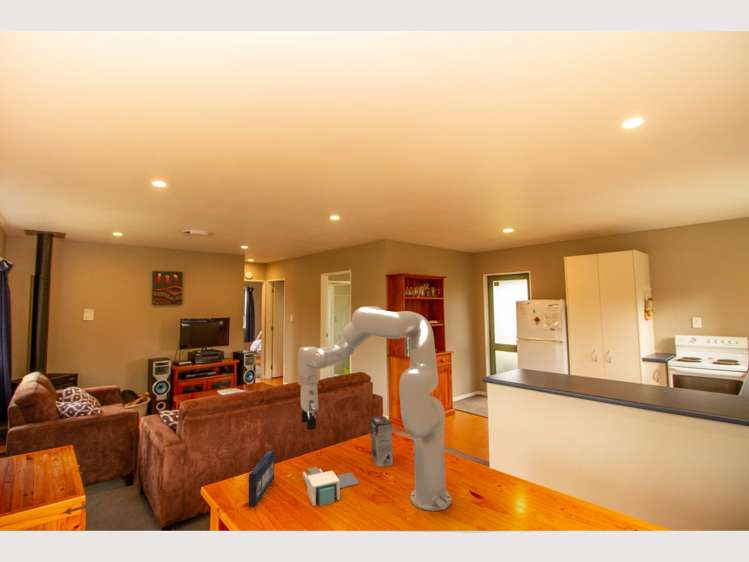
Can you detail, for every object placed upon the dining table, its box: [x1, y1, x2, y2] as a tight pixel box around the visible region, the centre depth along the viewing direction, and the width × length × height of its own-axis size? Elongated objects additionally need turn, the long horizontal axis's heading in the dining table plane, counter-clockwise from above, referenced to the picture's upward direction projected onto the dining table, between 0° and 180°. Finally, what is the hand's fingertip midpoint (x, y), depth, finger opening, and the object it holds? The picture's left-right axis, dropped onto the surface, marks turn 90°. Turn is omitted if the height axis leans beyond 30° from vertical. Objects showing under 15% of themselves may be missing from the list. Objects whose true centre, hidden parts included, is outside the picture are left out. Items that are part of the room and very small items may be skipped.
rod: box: [307, 466, 320, 494], centre depth 124 cm, size 14×3×4 cm, turn 23°
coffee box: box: [369, 415, 394, 468], centre depth 143 cm, size 9×6×16 cm
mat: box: [336, 472, 361, 489], centre depth 127 cm, size 9×9×1 cm
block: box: [316, 484, 335, 506], centre depth 114 cm, size 4×4×4 cm
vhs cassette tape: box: [247, 450, 276, 508], centre depth 121 cm, size 18×3×10 cm, turn 176°
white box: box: [302, 468, 341, 507], centre depth 122 cm, size 20×9×6 cm, turn 23°
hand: (308, 425), depth 136 cm, fingers open, 9 cm apart
